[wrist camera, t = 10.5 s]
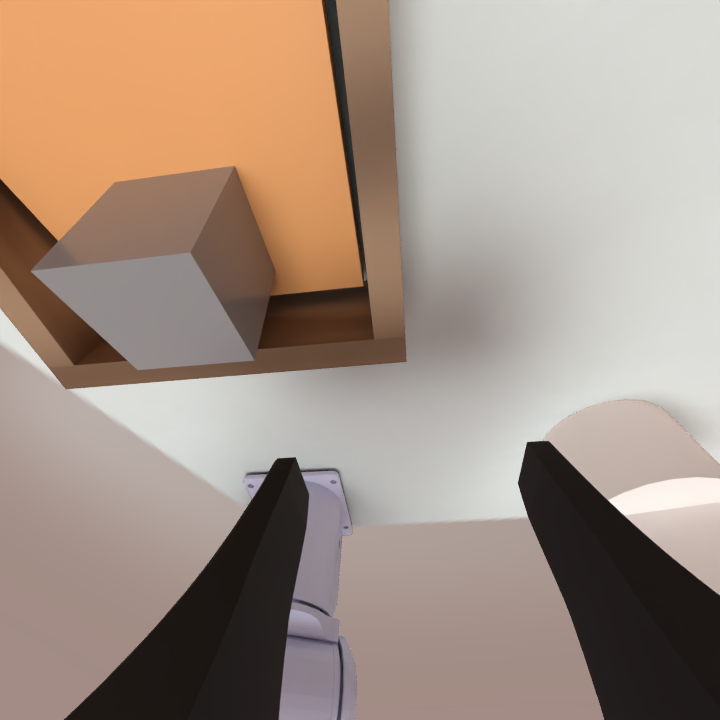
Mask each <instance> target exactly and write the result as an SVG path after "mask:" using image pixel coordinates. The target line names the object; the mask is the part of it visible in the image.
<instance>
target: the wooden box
mask: <svg viewBox="0 0 720 720" xmlns="http://www.w3.org/2000/svg"><path fill="white" fill-rule="evenodd" d="M336 6H337V14H338V23H339V32H340V41H341V50H342V59H343V68H344V76H345V85H346V94H347V103H348V112H349V121H350V130H351V138H352V147H353V156H354V165H355V174H356V183H357V191H358V200H359V209H360V218H361V227H362V236H363V245H364V253H365V262H366V271H367V280H368V281H363V284H364V286H360V287H350V288H341V289H331V290H321V291H311V292H302V293H292V294H282V295H272V296H270V298H269V302H268V306H267V310H266V315H265V319H264V323H263V328H262V332H261V336H260V340H259V345H258V349H257V353H256V357H255V361H242V362H230V363H218V364H206V365H194V366H182V367H170V368H157V369H145V370H137V369H136V368H135V367H134V366H133V365H132V364H131V363H130V362H128V361H127V360H126V359H125V358H124V357H123V356H122V355H121V354H120V353H119V352H118V351H116V350H115V349H114V348H113V347H112V346H111V345H110V344H109V343H108V342H107V341H106V340H105V339H103V338H102V337H101V336H100V335H99V334H98V333H97V332H96V331H95V330H94V329H93V328H92V327H90V326H89V325H88V324H87V323H86V322H85V321H84V320H83V319H82V318H81V317H80V316H79V315H77V314H76V313H75V312H74V311H73V310H72V309H71V308H70V307H69V306H68V305H67V304H66V303H64V302H63V301H62V300H61V299H60V298H59V297H58V296H57V295H56V294H55V293H54V292H53V291H51V290H50V289H49V288H48V287H47V286H46V285H45V284H44V283H43V282H42V281H41V280H40V279H38V278H37V277H36V276H35V275H34V274H33V273H32V272H31V270H32V269H33V268H34V266H35V265H36V264H37V263H38V262H39V261H40V260H41V259H42V258H43V257H44V256H45V255H46V254H47V253H48V252H49V251H50V250H51V249H52V248H53V247H54V245H55V244H56V243H57V242H58V240H57V239H56V238H55V237H54V236H53V235H52V234H51V233H50V232H49V231H48V229H47V228H46V227H45V226H44V225H43V224H42V223H41V222H40V221H39V220H38V219H37V218H36V217H35V215H34V214H33V213H32V212H31V211H30V210H29V209H28V208H27V207H26V206H25V205H24V204H23V203H22V201H21V200H20V199H19V198H18V197H17V196H16V195H15V194H14V193H13V192H12V191H11V190H10V189H9V187H8V186H7V185H6V184H5V183H4V182H3V181H2V180H1V179H0V308H1V310H2V311H3V312H4V313H5V315H6V316H7V317H8V318H9V320H10V321H11V322H12V323H13V324H14V326H15V327H16V328H17V329H18V331H19V332H20V333H21V334H22V336H23V337H24V338H25V339H26V341H27V342H28V343H29V344H30V345H31V347H32V348H33V349H34V350H35V352H36V353H37V354H38V355H39V357H40V358H41V359H42V360H43V362H44V363H45V364H46V365H47V366H48V368H49V369H50V370H51V371H52V373H53V374H54V375H55V376H56V378H57V379H58V380H59V381H60V383H61V384H62V385H63V386H64V387H65V389H74V388H87V387H99V386H112V385H124V384H136V383H149V382H161V381H174V380H186V379H198V378H211V377H223V376H236V375H248V374H260V373H273V372H285V371H298V370H310V369H322V368H335V367H347V366H360V365H372V364H384V363H397V362H406V344H405V325H404V305H403V285H402V266H401V246H400V226H399V207H398V187H397V167H396V148H395V128H394V108H393V89H392V69H391V49H390V30H389V10H388V0H336Z"/></svg>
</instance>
